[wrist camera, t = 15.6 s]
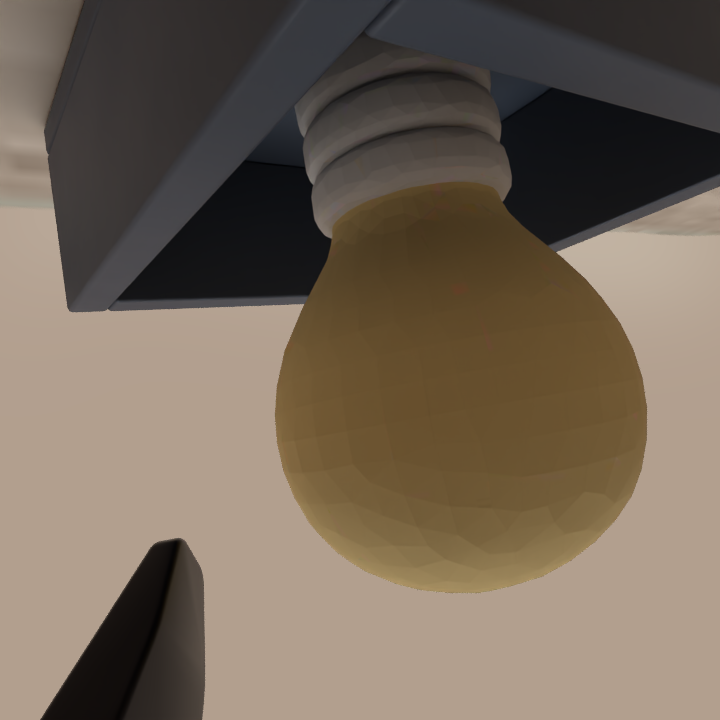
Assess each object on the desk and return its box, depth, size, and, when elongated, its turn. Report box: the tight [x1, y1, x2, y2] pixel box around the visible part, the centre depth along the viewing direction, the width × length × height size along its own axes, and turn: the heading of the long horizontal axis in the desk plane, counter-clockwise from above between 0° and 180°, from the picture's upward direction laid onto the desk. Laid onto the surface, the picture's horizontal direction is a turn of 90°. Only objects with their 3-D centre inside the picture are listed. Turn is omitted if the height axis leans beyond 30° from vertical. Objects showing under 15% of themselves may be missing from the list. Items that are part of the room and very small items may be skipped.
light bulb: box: [275, 31, 647, 593], centre depth 11 cm, size 6×6×10 cm
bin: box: [44, 0, 720, 312], centre depth 12 cm, size 11×11×4 cm
